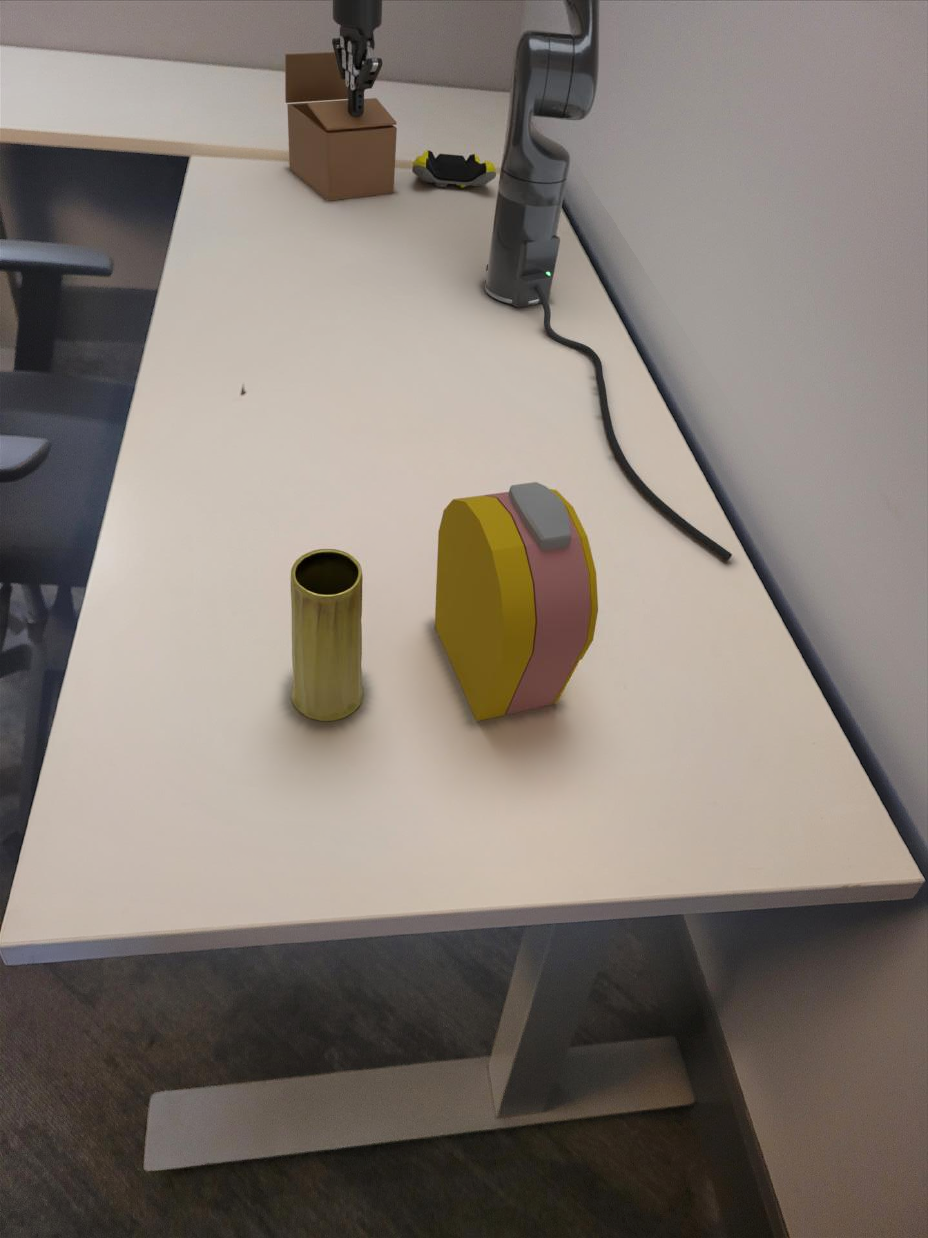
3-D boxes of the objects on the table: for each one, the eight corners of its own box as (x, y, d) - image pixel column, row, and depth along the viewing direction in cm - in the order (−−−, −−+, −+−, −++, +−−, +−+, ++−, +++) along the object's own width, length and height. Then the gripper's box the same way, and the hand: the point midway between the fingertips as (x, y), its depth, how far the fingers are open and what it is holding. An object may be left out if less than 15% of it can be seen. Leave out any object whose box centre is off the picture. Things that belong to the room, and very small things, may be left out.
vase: (362, 665, 75) (366, 544, 65) (365, 721, 71) (370, 601, 61) (291, 667, 74) (285, 543, 64) (290, 723, 70) (283, 601, 60)
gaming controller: (494, 197, 155) (487, 177, 161) (498, 165, 151) (491, 145, 157) (412, 191, 152) (408, 171, 159) (414, 158, 148) (410, 138, 155)
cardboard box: (393, 192, 151) (399, 77, 138) (327, 200, 145) (327, 81, 132) (351, 160, 159) (353, 49, 147) (287, 167, 154) (283, 52, 141)
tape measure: (572, 717, 74) (624, 561, 60) (483, 737, 71) (518, 579, 58) (508, 598, 83) (542, 440, 70) (428, 612, 80) (448, 451, 67)
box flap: (396, 124, 143) (396, 122, 143) (327, 130, 137) (327, 127, 137) (375, 100, 146) (376, 97, 146) (307, 104, 140) (307, 102, 140)
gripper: (401, -3, 127) (395, 125, 139) (359, -25, 134) (356, 99, 146) (356, -3, 123) (354, 129, 136) (315, -25, 130) (317, 102, 143)
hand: (355, 113), depth 141 cm, fingers closed
